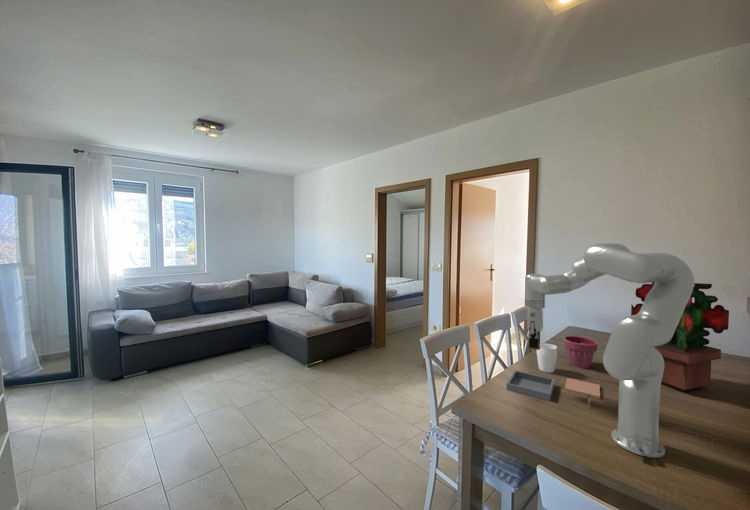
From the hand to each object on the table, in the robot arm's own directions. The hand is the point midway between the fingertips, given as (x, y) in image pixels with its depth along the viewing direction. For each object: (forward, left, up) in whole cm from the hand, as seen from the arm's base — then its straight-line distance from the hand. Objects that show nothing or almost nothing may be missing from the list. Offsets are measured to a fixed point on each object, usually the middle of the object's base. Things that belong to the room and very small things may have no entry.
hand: (534, 345), depth 129 cm
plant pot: (+42, -15, -19) cm, 49 cm away
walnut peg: (0, 0, -1) cm, 1 cm away
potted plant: (+41, -50, -19) cm, 68 cm away
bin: (-1, +1, -19) cm, 19 cm away
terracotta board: (+12, -17, -19) cm, 28 cm away
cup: (+25, -2, -19) cm, 32 cm away
